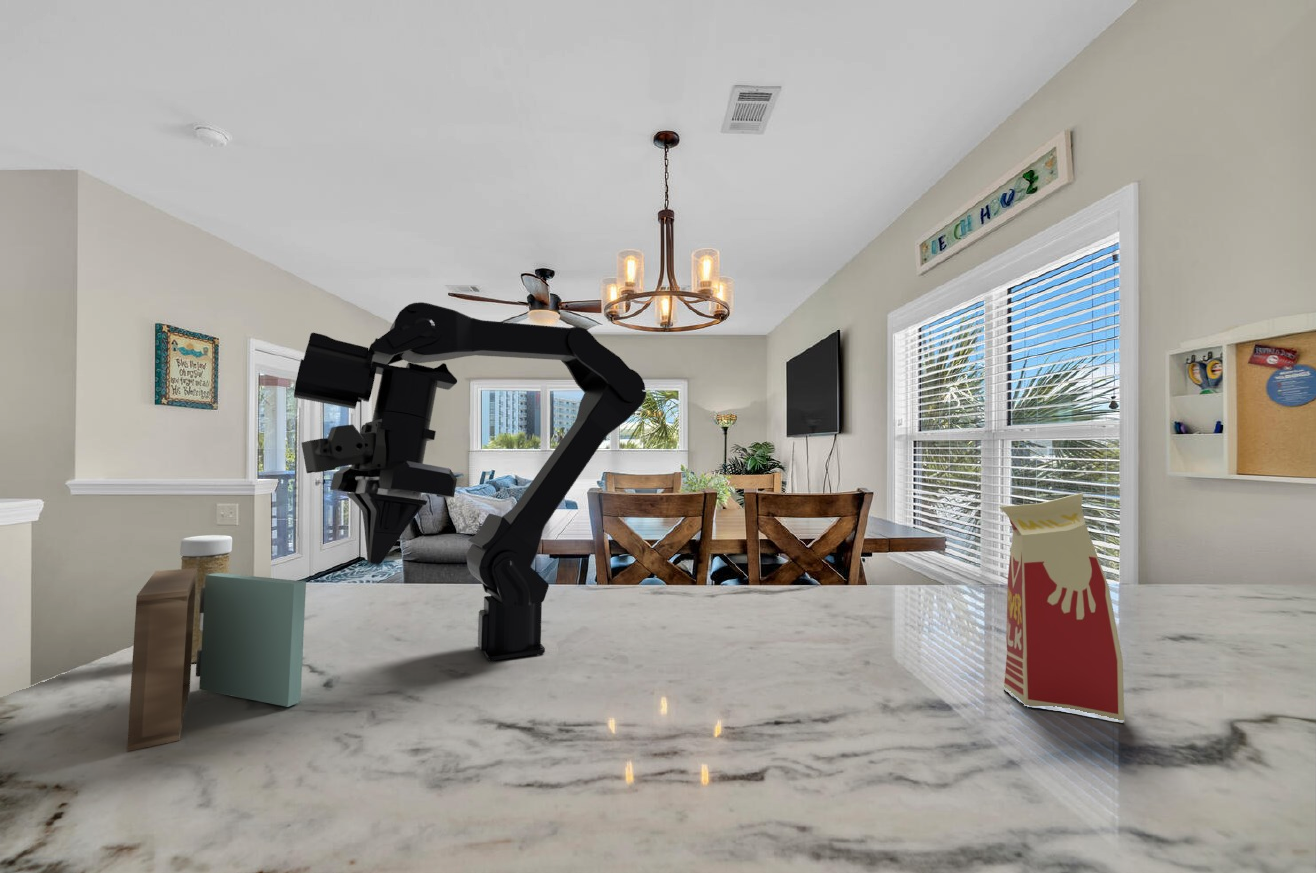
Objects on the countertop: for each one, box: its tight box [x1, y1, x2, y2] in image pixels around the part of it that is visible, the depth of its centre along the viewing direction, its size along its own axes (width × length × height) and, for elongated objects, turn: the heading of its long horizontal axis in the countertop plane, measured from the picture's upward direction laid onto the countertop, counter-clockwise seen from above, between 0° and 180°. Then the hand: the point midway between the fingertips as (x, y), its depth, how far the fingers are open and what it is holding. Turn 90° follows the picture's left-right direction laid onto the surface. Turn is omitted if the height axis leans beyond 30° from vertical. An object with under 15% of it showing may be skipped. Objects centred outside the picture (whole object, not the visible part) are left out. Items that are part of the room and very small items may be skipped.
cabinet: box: [126, 568, 197, 752], centre depth 48 cm, size 3×12×12 cm, turn 37°
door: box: [195, 573, 307, 708], centre depth 52 cm, size 1×12×11 cm, turn 72°
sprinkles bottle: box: [179, 534, 233, 664], centre depth 63 cm, size 5×5×13 cm
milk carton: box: [998, 492, 1125, 721], centre depth 55 cm, size 9×9×20 cm
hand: (374, 563), depth 58 cm, fingers closed
